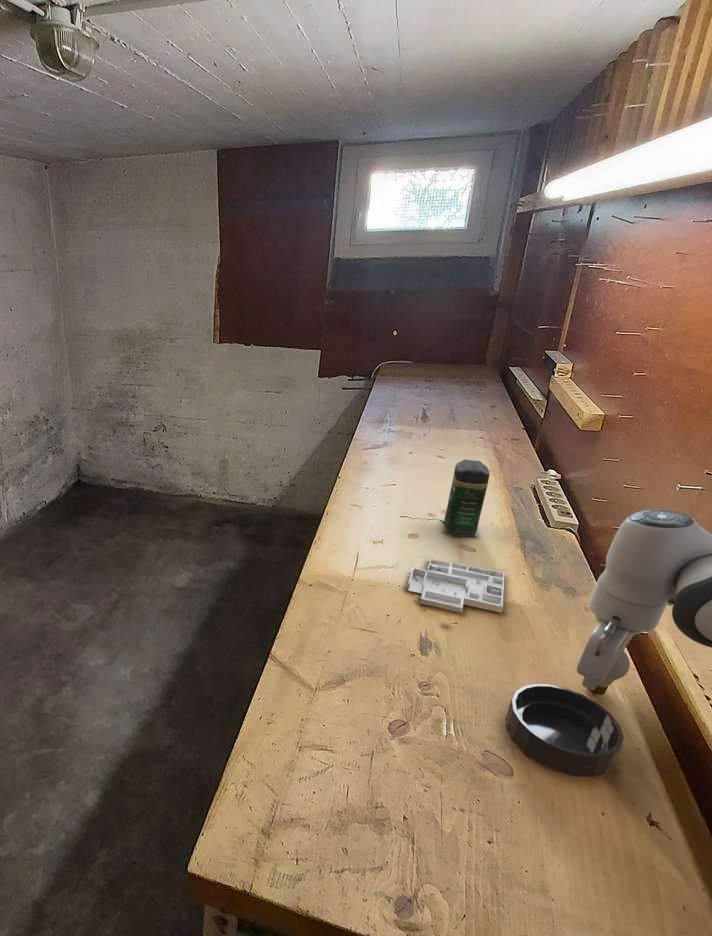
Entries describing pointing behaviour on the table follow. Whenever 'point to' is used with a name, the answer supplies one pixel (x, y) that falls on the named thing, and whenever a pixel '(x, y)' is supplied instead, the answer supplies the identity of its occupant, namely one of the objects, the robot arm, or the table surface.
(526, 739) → the bowl
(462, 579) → the floor plan model
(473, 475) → the coffee jar
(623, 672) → the light bulb
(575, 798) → the table surface
